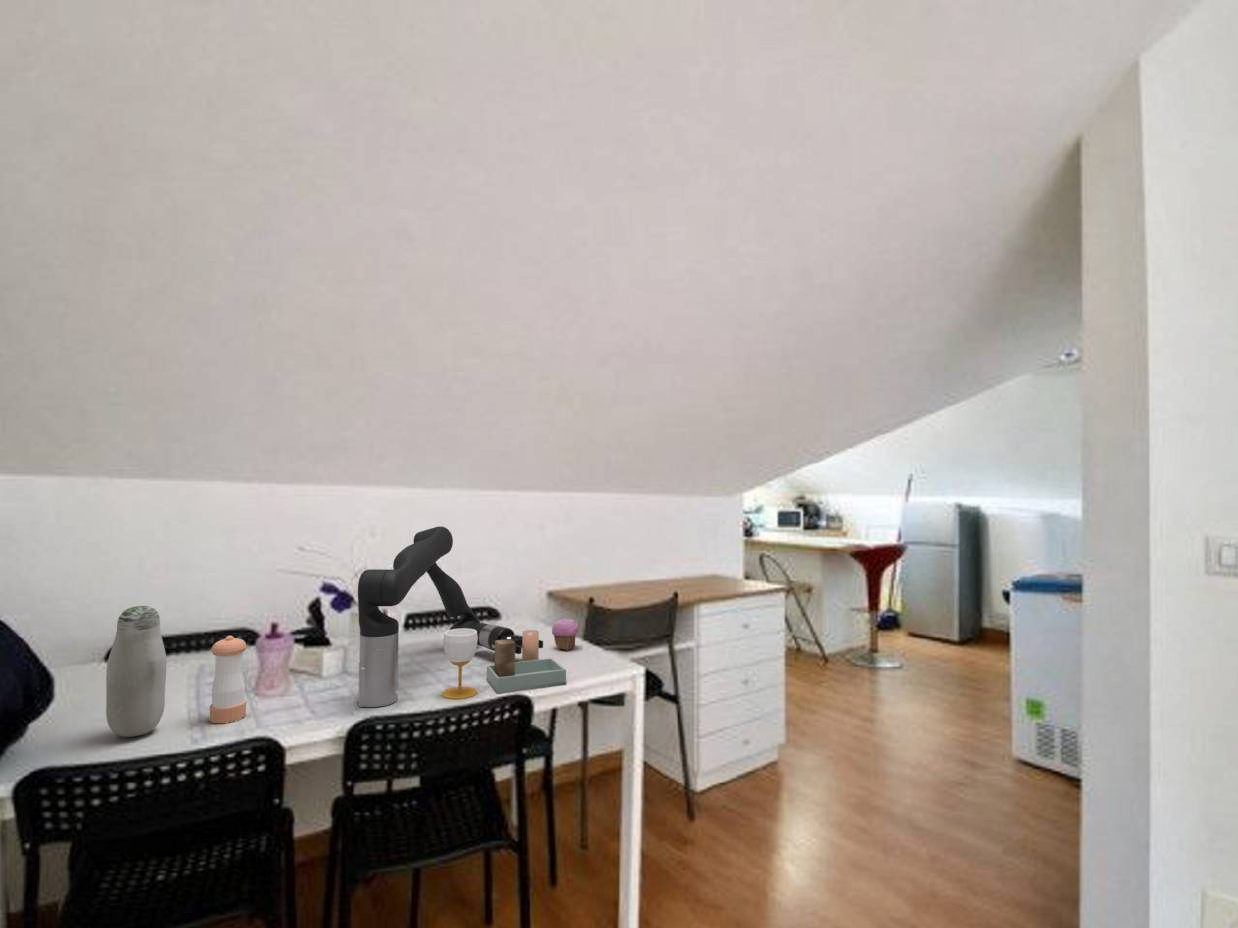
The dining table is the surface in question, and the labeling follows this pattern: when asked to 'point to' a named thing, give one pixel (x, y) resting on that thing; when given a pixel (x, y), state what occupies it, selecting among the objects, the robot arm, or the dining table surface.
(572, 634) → the cupcake
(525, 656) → the terracotta cylinder
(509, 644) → the walnut block
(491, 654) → the dining table surface
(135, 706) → the grey bottle
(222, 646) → the salt shaker
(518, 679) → the tray
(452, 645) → the cup
